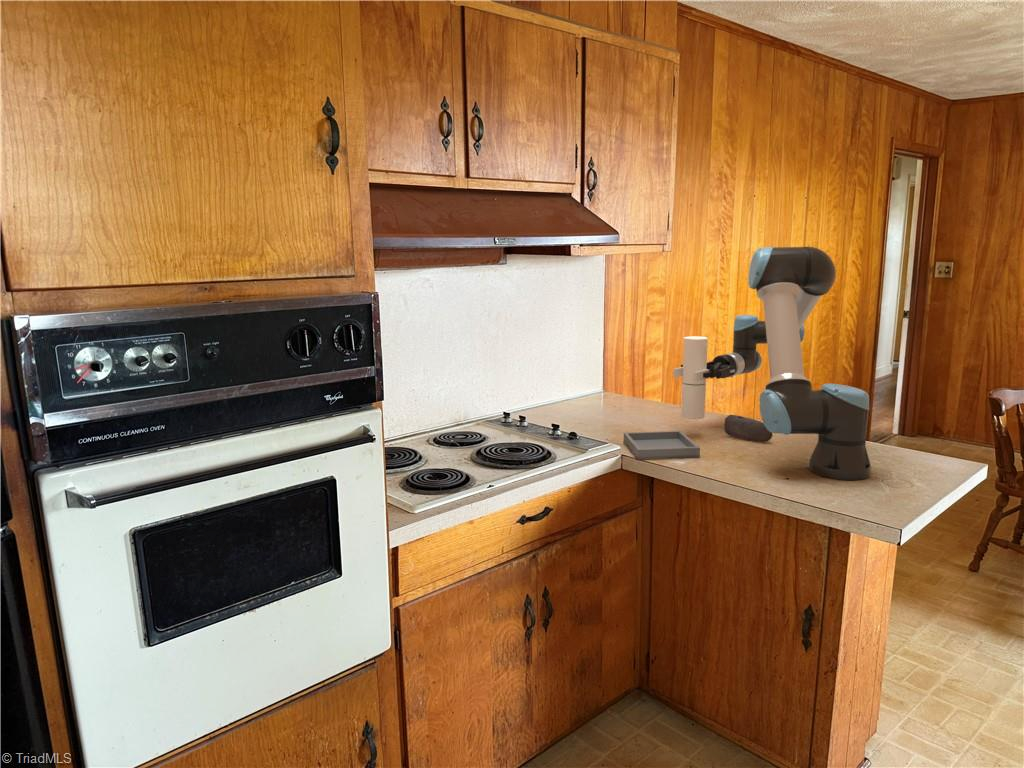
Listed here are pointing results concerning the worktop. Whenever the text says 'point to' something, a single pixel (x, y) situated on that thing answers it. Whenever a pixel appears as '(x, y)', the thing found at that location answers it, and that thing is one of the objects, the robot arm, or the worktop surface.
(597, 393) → the worktop surface
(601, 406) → the worktop surface
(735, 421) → the perforated stone tool
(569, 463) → the worktop surface
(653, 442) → the slate tray
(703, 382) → the cylindrical container
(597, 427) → the worktop surface
